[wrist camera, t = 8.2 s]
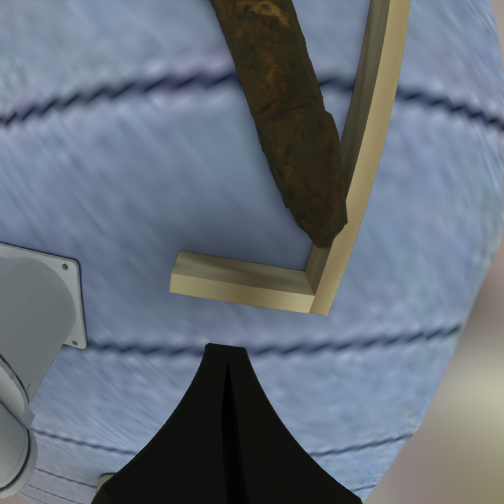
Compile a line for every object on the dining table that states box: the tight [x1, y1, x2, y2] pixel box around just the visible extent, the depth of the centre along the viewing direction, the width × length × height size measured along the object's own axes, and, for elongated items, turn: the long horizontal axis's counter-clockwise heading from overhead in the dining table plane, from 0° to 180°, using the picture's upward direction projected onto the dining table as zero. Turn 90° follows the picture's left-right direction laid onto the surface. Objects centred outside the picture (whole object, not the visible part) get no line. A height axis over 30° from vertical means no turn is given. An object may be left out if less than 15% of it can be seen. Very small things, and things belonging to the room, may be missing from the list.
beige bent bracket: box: [170, 0, 410, 315], centre depth 14 cm, size 9×24×3 cm, turn 168°
